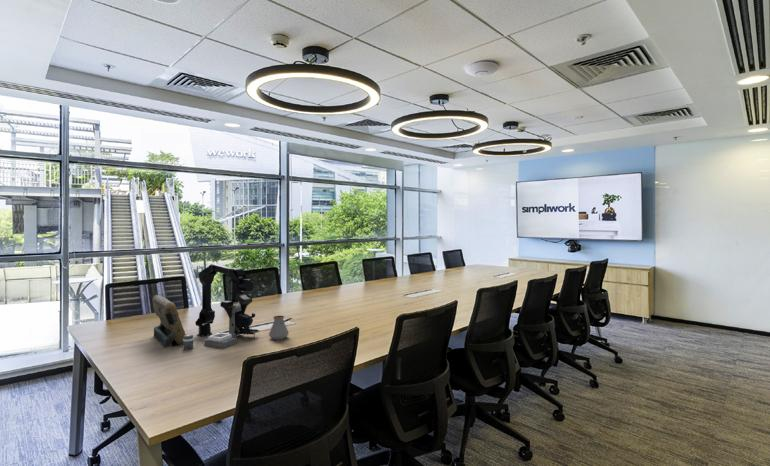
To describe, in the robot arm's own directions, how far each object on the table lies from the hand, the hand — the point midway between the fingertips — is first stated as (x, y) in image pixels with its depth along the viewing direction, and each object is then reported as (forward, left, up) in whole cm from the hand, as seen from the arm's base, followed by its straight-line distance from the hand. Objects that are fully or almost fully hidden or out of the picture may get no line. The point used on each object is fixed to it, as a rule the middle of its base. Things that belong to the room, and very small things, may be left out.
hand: (236, 316), depth 230 cm
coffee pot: (+23, +13, -15) cm, 30 cm away
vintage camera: (-1, +8, -15) cm, 16 cm away
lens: (-14, -21, -14) cm, 29 cm away
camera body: (-4, -8, -14) cm, 17 cm away
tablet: (-37, -14, -15) cm, 42 cm away
